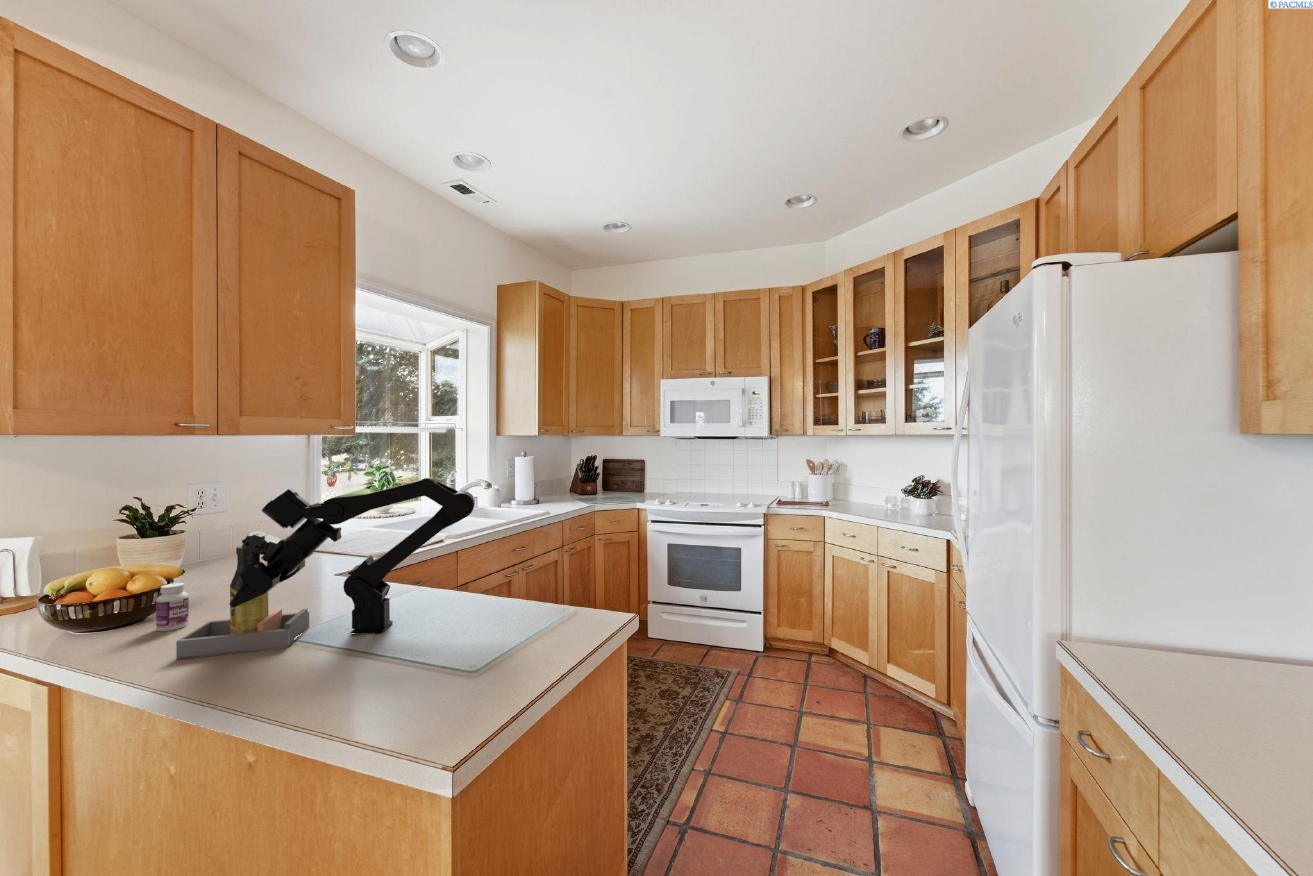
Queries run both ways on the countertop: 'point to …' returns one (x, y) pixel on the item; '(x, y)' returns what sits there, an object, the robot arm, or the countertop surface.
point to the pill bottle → (172, 607)
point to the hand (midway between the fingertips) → (241, 599)
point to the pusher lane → (240, 637)
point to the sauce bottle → (250, 611)
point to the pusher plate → (271, 622)
